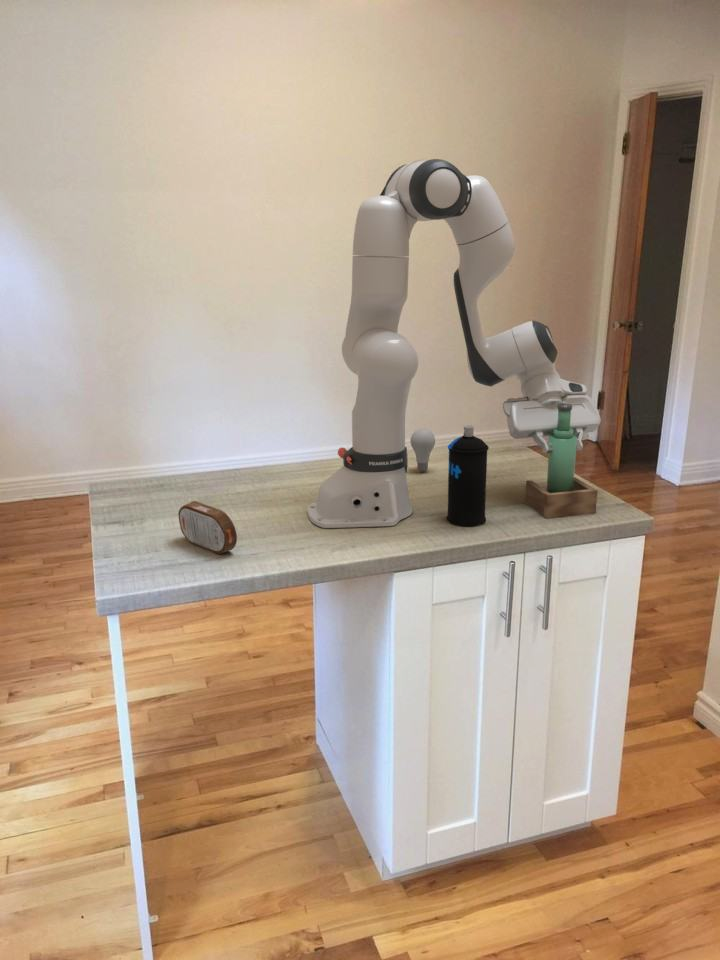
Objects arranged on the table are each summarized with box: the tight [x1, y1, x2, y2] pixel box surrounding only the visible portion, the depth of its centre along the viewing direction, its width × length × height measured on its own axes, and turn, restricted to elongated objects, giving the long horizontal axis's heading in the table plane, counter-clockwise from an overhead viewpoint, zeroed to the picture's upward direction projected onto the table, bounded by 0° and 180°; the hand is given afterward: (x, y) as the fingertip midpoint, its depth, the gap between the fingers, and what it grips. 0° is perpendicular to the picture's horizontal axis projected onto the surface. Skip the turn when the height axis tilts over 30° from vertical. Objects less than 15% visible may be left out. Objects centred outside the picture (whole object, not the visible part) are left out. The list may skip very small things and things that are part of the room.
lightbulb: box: [410, 428, 436, 473], centre depth 195 cm, size 6×6×11 cm
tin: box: [178, 500, 238, 555], centre depth 151 cm, size 15×3×8 cm, turn 48°
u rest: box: [524, 476, 598, 519], centre depth 169 cm, size 11×10×5 cm
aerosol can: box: [445, 424, 489, 528], centre depth 161 cm, size 8×8×20 cm
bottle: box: [546, 404, 577, 493], centre depth 167 cm, size 6×6×20 cm
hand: (563, 450), depth 166 cm, fingers closed on bottle, 6 cm apart
